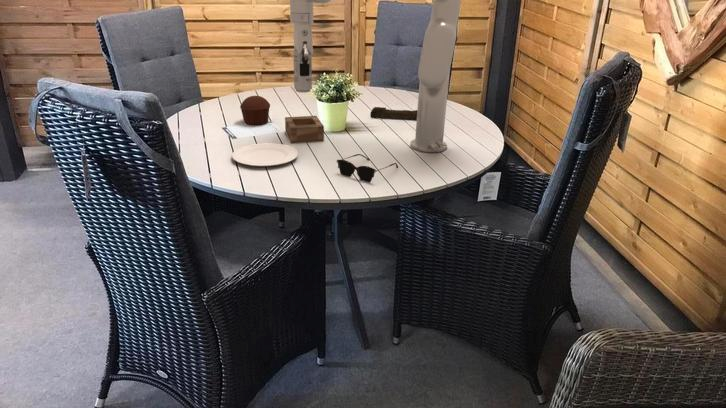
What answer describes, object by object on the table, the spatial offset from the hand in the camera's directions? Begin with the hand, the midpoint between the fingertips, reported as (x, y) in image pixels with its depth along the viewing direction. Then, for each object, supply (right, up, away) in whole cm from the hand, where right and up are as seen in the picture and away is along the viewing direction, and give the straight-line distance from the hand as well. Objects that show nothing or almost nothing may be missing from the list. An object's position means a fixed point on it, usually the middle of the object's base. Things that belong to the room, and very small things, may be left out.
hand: (302, 73), depth 184 cm
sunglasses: (+23, -35, -19) cm, 46 cm away
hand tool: (+33, -11, +33) cm, 48 cm away
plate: (-11, -30, -11) cm, 34 cm away
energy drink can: (0, -6, +3) cm, 6 cm away
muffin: (-21, -14, +24) cm, 34 cm away
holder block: (-1, -20, +10) cm, 22 cm away
